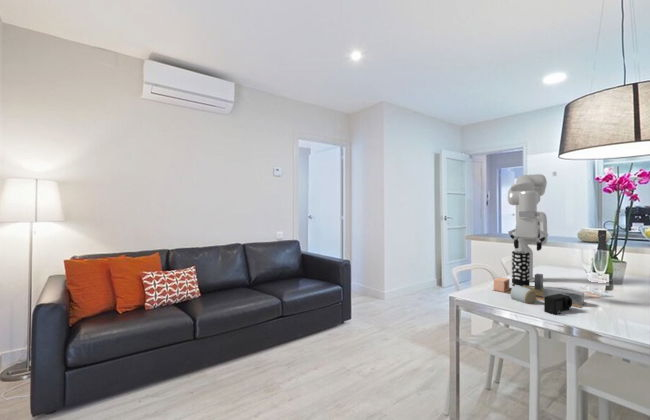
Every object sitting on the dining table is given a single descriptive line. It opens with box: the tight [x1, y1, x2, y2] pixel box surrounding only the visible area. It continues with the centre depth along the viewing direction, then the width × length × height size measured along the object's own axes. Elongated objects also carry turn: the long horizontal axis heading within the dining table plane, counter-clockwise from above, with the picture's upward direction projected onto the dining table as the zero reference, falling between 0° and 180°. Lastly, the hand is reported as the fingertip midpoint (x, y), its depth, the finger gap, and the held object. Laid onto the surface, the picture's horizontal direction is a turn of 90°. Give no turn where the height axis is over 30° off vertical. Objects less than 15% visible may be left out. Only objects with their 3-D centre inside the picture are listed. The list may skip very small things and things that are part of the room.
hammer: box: [523, 273, 544, 296], centre depth 148 cm, size 4×22×10 cm, turn 41°
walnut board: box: [491, 287, 587, 309], centre depth 153 cm, size 12×37×1 cm, turn 40°
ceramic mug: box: [510, 285, 538, 305], centre depth 146 cm, size 11×8×8 cm
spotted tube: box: [511, 250, 530, 287], centre depth 171 cm, size 8×8×20 cm
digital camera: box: [543, 294, 572, 316], centre depth 133 cm, size 10×5×7 cm, turn 113°
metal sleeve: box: [543, 286, 585, 307], centre depth 144 cm, size 5×15×5 cm, turn 40°
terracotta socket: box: [493, 276, 510, 292], centre depth 165 cm, size 8×5×6 cm, turn 130°
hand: (527, 249), depth 153 cm, fingers open, 9 cm apart
